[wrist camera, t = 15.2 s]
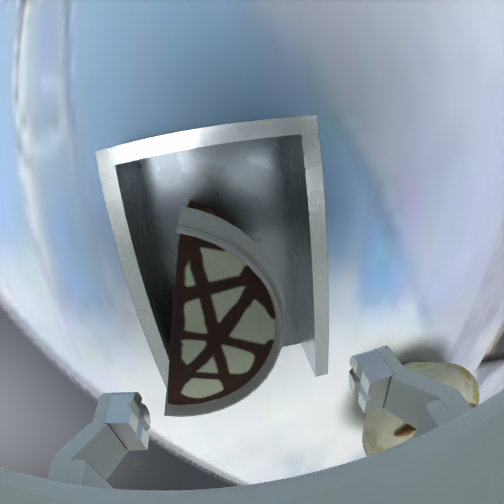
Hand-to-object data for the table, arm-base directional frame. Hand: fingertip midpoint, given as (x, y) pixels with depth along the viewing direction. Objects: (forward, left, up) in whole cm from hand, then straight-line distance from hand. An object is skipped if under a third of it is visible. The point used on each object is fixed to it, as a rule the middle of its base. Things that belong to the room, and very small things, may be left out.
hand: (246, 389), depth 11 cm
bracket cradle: (0, 0, -14) cm, 14 cm away
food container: (+1, -1, -14) cm, 14 cm away
